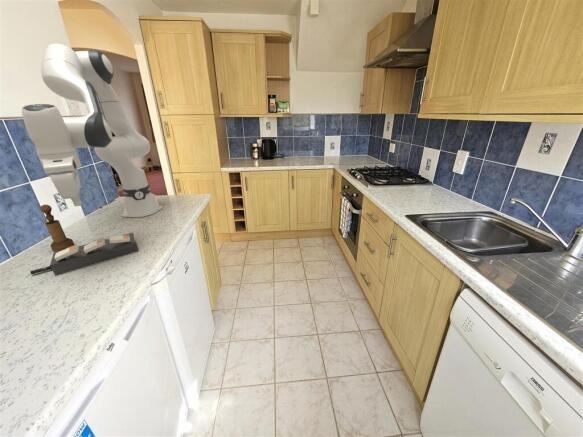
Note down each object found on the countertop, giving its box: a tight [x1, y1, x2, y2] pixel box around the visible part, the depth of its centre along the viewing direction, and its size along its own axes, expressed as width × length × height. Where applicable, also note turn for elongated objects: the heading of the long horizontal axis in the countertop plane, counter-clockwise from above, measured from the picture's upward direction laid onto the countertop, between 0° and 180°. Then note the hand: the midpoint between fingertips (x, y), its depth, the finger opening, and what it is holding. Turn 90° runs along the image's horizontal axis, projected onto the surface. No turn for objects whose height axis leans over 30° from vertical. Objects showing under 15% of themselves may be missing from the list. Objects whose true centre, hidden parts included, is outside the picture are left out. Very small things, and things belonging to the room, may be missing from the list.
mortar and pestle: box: [39, 204, 75, 253], centre depth 93 cm, size 7×6×18 cm
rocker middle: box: [84, 237, 106, 253], centre depth 86 cm, size 4×6×1 cm, turn 127°
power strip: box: [29, 232, 139, 276], centre depth 87 cm, size 10×30×5 cm, turn 127°
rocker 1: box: [54, 244, 79, 261], centre depth 81 cm, size 4×6×1 cm, turn 127°
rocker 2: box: [108, 234, 130, 243], centre depth 90 cm, size 4×6×1 cm, turn 127°
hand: (78, 204), depth 80 cm, fingers closed
